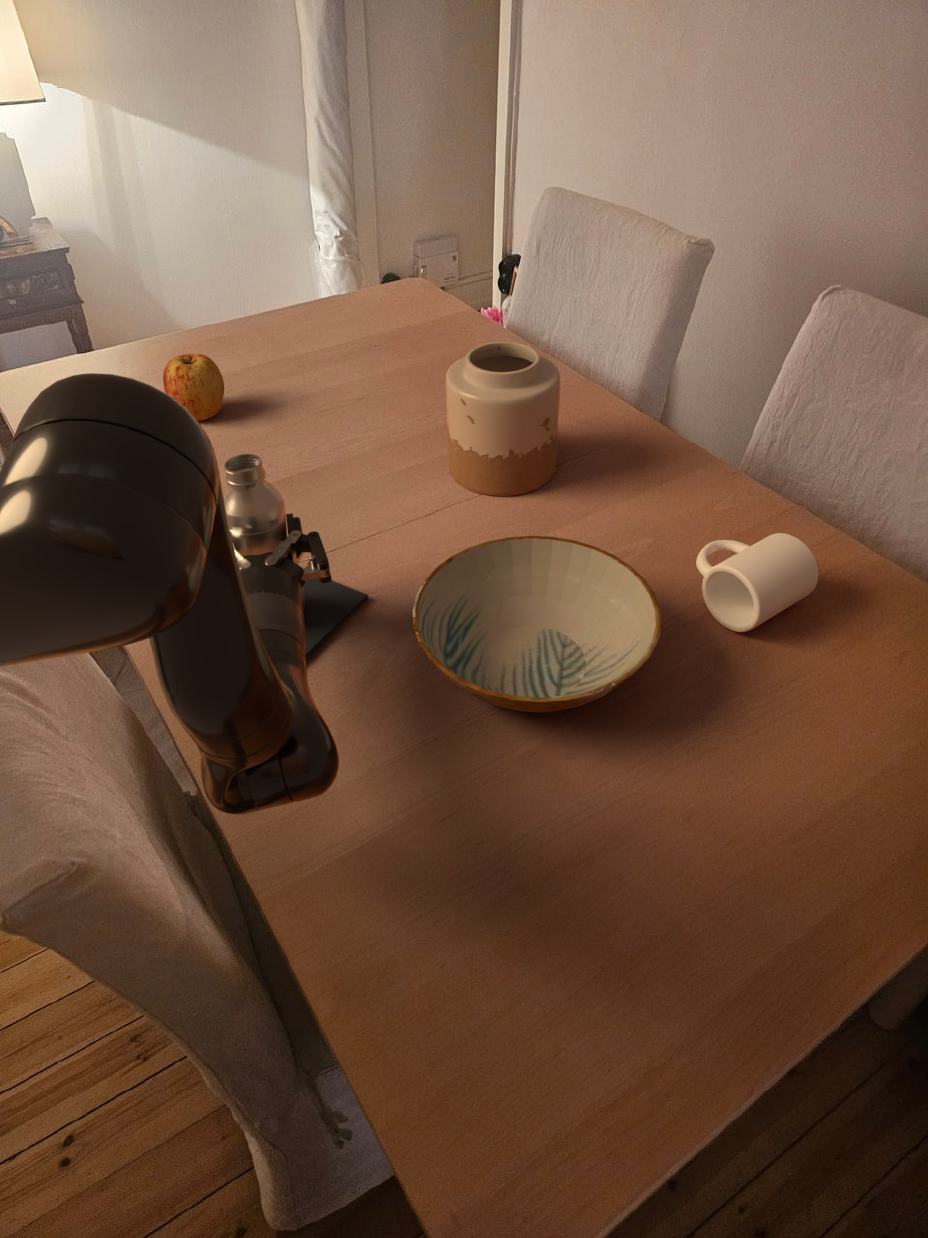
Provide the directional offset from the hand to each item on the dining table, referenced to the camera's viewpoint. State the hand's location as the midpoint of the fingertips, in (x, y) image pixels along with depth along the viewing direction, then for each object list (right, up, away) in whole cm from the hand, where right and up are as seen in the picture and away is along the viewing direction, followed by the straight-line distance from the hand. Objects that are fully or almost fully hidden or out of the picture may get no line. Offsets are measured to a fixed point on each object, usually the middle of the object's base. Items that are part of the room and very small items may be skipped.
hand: (259, 525), depth 89 cm
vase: (+28, +11, +29) cm, 42 cm away
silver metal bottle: (+1, -10, +6) cm, 11 cm away
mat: (+1, -10, +6) cm, 12 cm away
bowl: (+30, -15, 0) cm, 33 cm away
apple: (-20, +23, +43) cm, 53 cm away
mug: (+54, -8, +7) cm, 55 cm away
